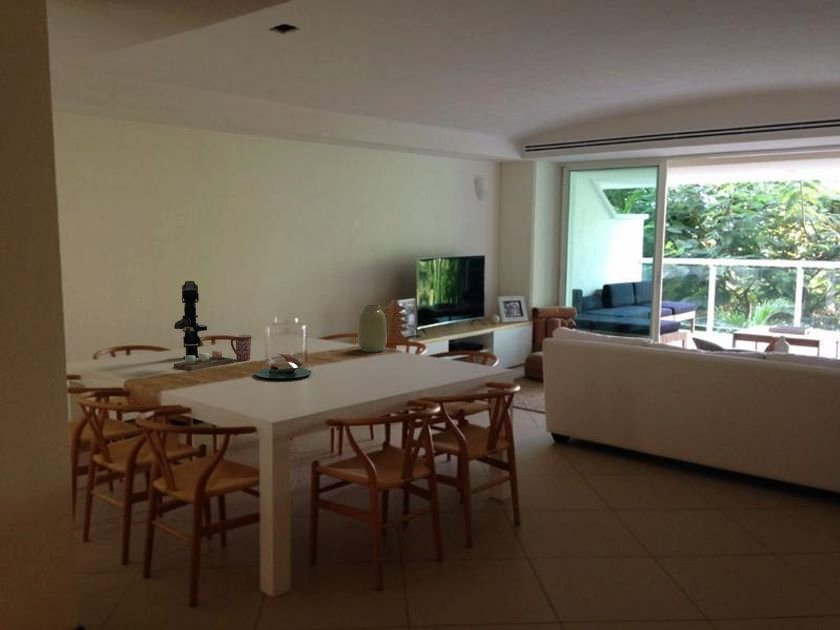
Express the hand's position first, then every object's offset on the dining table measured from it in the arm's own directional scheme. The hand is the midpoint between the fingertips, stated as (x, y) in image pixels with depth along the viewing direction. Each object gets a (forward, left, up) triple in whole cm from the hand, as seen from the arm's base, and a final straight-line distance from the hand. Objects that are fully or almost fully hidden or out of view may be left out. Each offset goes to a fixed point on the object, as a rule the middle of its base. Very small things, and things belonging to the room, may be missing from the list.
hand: (191, 343), depth 381 cm
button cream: (0, +8, -11) cm, 13 cm away
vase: (+44, +99, -13) cm, 109 cm away
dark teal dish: (+52, +13, -13) cm, 55 cm away
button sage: (0, -1, -11) cm, 11 cm away
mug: (+4, +31, -13) cm, 34 cm away
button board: (0, +8, -13) cm, 15 cm away
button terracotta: (0, +17, -11) cm, 20 cm away
